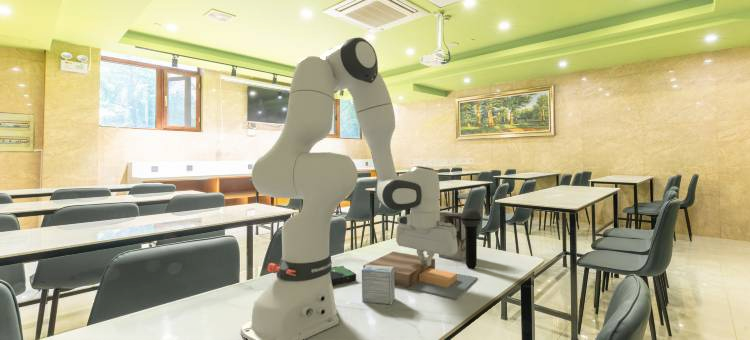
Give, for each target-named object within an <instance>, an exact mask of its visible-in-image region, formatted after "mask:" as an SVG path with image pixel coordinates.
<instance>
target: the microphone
mask: <svg viewBox="0 0 750 340" xmlns="http://www.w3.org/2000/svg"><path fill="white" fill-rule="evenodd" d="M461 213H462V215H461V221H462V223H463V224H464V225H465V229H466V230H465V258H464V259H465V265H466V267H467V269H469V270H473V269H475V268H476V266H477V260H478V258H477V257H478V255H477V253H478V252H477V250H478V249H477V247H478V245H477V241H478V240H477V238H478V234H477V231H478V226H479V225H480V224H481V221H482V216H481V214H480V212H479V211H478V210H477V209H475V208H467V209H465V210H463V212H461Z"/></svg>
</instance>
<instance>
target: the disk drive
mask: <svg viewBox="0 0 750 340" xmlns="http://www.w3.org/2000/svg"><path fill="white" fill-rule="evenodd" d="M331 267H332V266H331ZM330 276H331V281H332V286H333V287H336V286H340V285H345V284H351V283H354V282H357V274H356V273H355V272H353V271H352V270H351V269H348V268H346V267H345V266H344V265H338V266H333V267H332V269H331V271H330Z"/></svg>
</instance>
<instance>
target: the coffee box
mask: <svg viewBox="0 0 750 340" xmlns="http://www.w3.org/2000/svg"><path fill="white" fill-rule="evenodd" d="M462 213H463V212H449V211H447V212H446V211H443V212H440V222H444V223H451V224H452V225H453V226H455V228H456V232H457V235H456V238H457V246H458V251H457V253H456V254H455V255H452V256H446V255H441V254H438V258H443V259H444V258H445V259H451V260H460V261H463V260H464V259H465V230H466V229H465V225H464V224H463V223H462V221H461V215H462Z"/></svg>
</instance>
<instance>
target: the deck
mask: <svg viewBox="0 0 750 340" xmlns="http://www.w3.org/2000/svg"><path fill="white" fill-rule="evenodd" d="M425 258H428V256H425ZM366 265H376V266H390V267H394V287H395V286H396V287H400V288H403V289H408V290H410V289H409V287H410V286H411V285H413V284H414V283H416V282H417V281H419V274H421V273H422V272H424V271H426V270H427V269H429V268H432V269H436V258H434V257H433V258H432V259H431V265H430V266H426V265H422V264H420V258H419V256H418V255H415V254H411V253H404V252H398V251H391V252H390V253H387V254H385V255H383V256H381V257H379V258H376V259H374V260H372V261H370V262H368V263H365V264H363V265H362V269H363V268H364V267H365V266H366Z"/></svg>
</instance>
